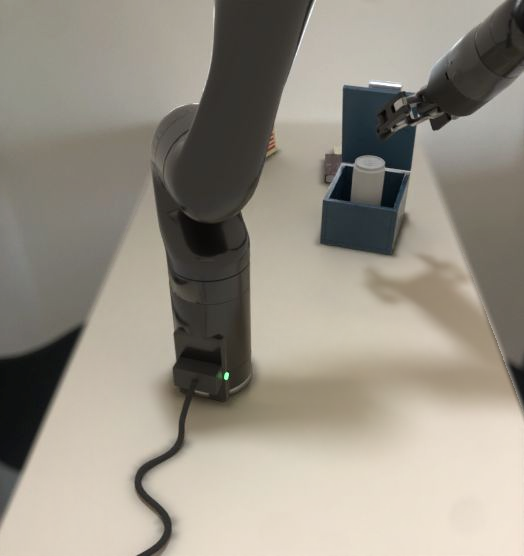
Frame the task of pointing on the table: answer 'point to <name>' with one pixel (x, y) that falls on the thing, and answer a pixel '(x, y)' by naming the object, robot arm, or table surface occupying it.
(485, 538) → the table surface
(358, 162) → the beverage can
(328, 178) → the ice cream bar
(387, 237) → the blue open box
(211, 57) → the robot arm
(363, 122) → the lid
